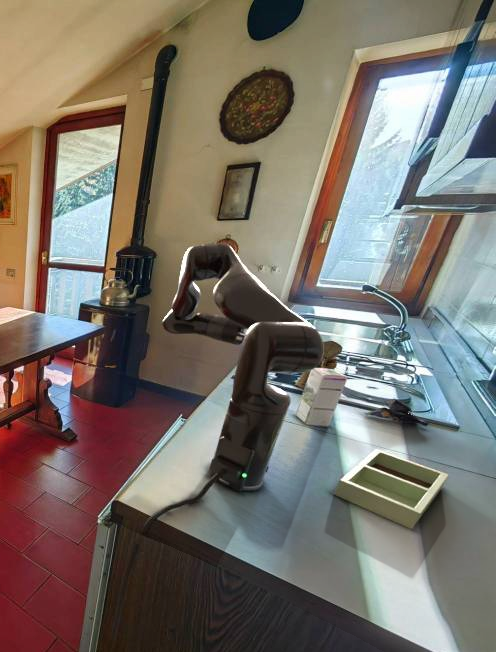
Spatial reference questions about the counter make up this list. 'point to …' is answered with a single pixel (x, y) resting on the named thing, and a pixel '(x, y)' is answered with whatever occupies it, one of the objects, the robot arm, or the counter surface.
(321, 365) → the tan boot
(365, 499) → the holder
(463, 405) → the counter surface
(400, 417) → the snack package
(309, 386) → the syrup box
